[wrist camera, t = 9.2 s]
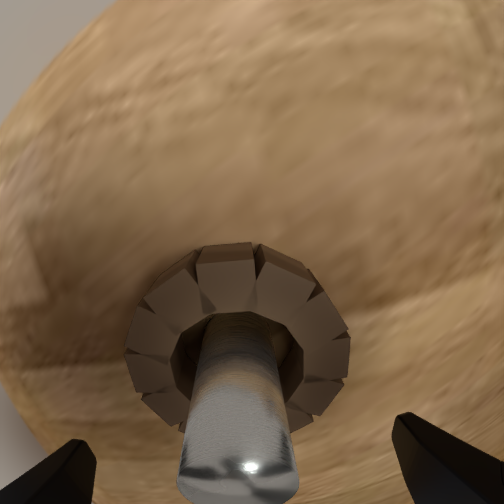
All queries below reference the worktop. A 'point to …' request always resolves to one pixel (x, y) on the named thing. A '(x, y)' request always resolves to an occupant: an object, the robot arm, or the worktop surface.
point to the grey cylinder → (237, 419)
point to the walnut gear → (237, 300)
